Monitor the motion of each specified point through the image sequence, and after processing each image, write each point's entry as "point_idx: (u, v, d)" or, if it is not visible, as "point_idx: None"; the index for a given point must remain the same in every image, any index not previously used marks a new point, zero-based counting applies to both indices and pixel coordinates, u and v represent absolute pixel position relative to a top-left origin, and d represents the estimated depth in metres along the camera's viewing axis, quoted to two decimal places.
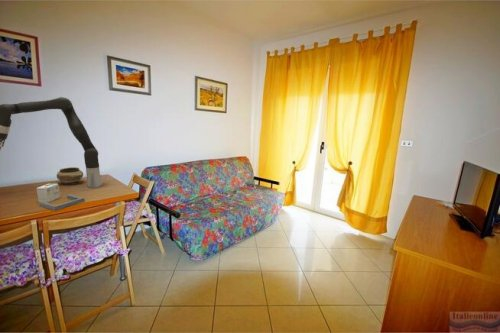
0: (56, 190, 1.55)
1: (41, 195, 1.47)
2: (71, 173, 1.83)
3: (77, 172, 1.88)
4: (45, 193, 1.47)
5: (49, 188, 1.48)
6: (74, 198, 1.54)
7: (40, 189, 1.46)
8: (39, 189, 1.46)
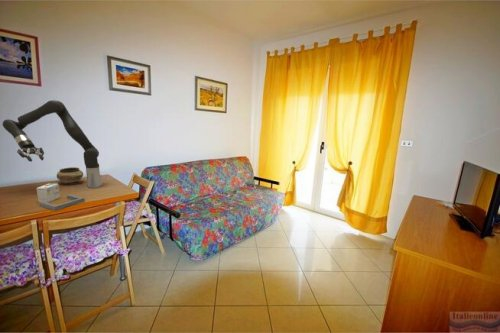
0: (56, 190, 1.55)
1: (41, 195, 1.47)
2: (71, 173, 1.83)
3: (77, 172, 1.88)
4: (45, 193, 1.47)
5: (49, 188, 1.48)
6: (74, 198, 1.54)
7: (40, 189, 1.46)
8: (39, 189, 1.46)
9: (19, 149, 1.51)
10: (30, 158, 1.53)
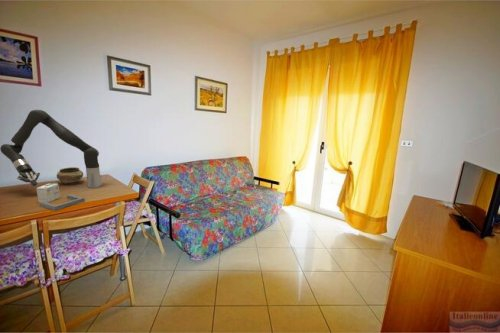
0: (56, 191, 1.55)
1: (41, 195, 1.47)
2: (71, 173, 1.83)
3: (77, 172, 1.88)
4: (45, 193, 1.47)
5: (49, 188, 1.48)
6: (74, 198, 1.54)
7: (40, 189, 1.46)
8: (39, 189, 1.46)
9: (19, 176, 1.51)
10: (33, 183, 1.55)
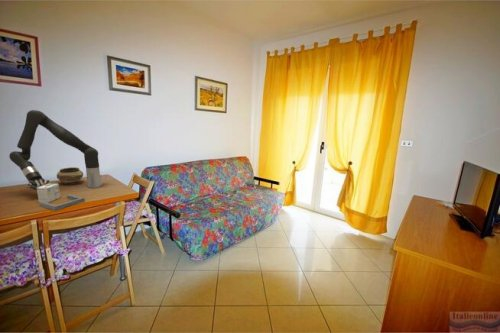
0: (56, 190, 1.54)
1: (41, 195, 1.47)
2: (71, 173, 1.83)
3: (77, 172, 1.88)
4: (46, 193, 1.47)
5: (49, 188, 1.48)
6: (74, 198, 1.54)
7: (40, 189, 1.46)
8: (39, 189, 1.46)
9: (28, 184, 1.49)
10: None
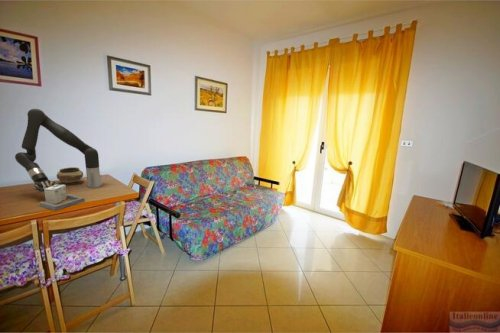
0: (63, 192, 1.53)
1: (49, 197, 1.45)
2: (71, 173, 1.83)
3: (77, 172, 1.88)
4: (53, 194, 1.45)
5: (57, 189, 1.47)
6: (74, 198, 1.54)
7: (48, 190, 1.44)
8: (47, 190, 1.44)
9: (34, 185, 1.46)
10: None
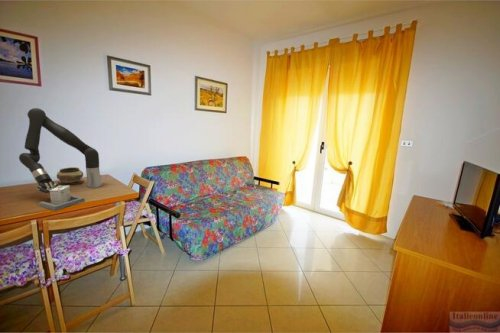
0: (68, 192, 1.52)
1: (55, 198, 1.44)
2: (71, 173, 1.83)
3: (77, 172, 1.88)
4: (60, 195, 1.44)
5: (63, 190, 1.46)
6: (74, 198, 1.54)
7: (54, 191, 1.43)
8: (53, 191, 1.43)
9: None
10: None
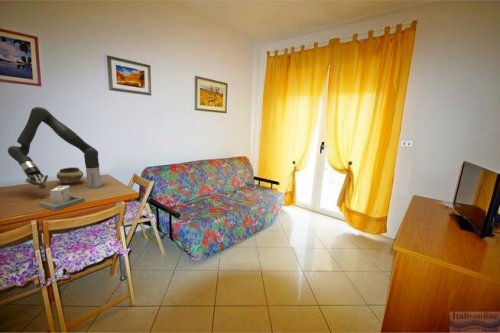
0: (68, 193, 1.52)
1: (55, 198, 1.44)
2: (71, 173, 1.83)
3: (77, 172, 1.88)
4: (60, 195, 1.44)
5: (63, 190, 1.46)
6: (74, 198, 1.54)
7: (54, 191, 1.43)
8: (53, 191, 1.43)
9: None
10: (42, 185, 1.52)
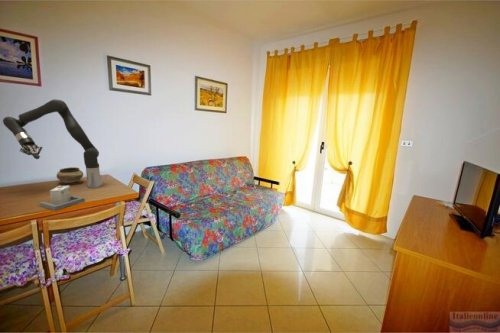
0: (68, 193, 1.52)
1: (55, 198, 1.44)
2: (71, 173, 1.83)
3: (77, 172, 1.88)
4: (60, 195, 1.44)
5: (63, 190, 1.46)
6: (74, 198, 1.54)
7: (54, 191, 1.43)
8: (53, 192, 1.43)
9: (21, 148, 1.51)
10: (36, 155, 1.55)
